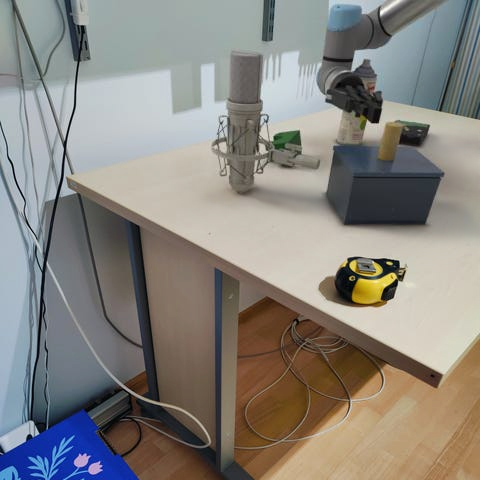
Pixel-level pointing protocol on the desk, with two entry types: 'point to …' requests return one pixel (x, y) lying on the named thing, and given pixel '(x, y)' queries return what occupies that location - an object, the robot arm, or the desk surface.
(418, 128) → the disk drive
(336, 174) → the bin
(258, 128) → the microphone
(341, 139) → the aerosol can
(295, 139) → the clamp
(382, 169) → the lid
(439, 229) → the desk surface
